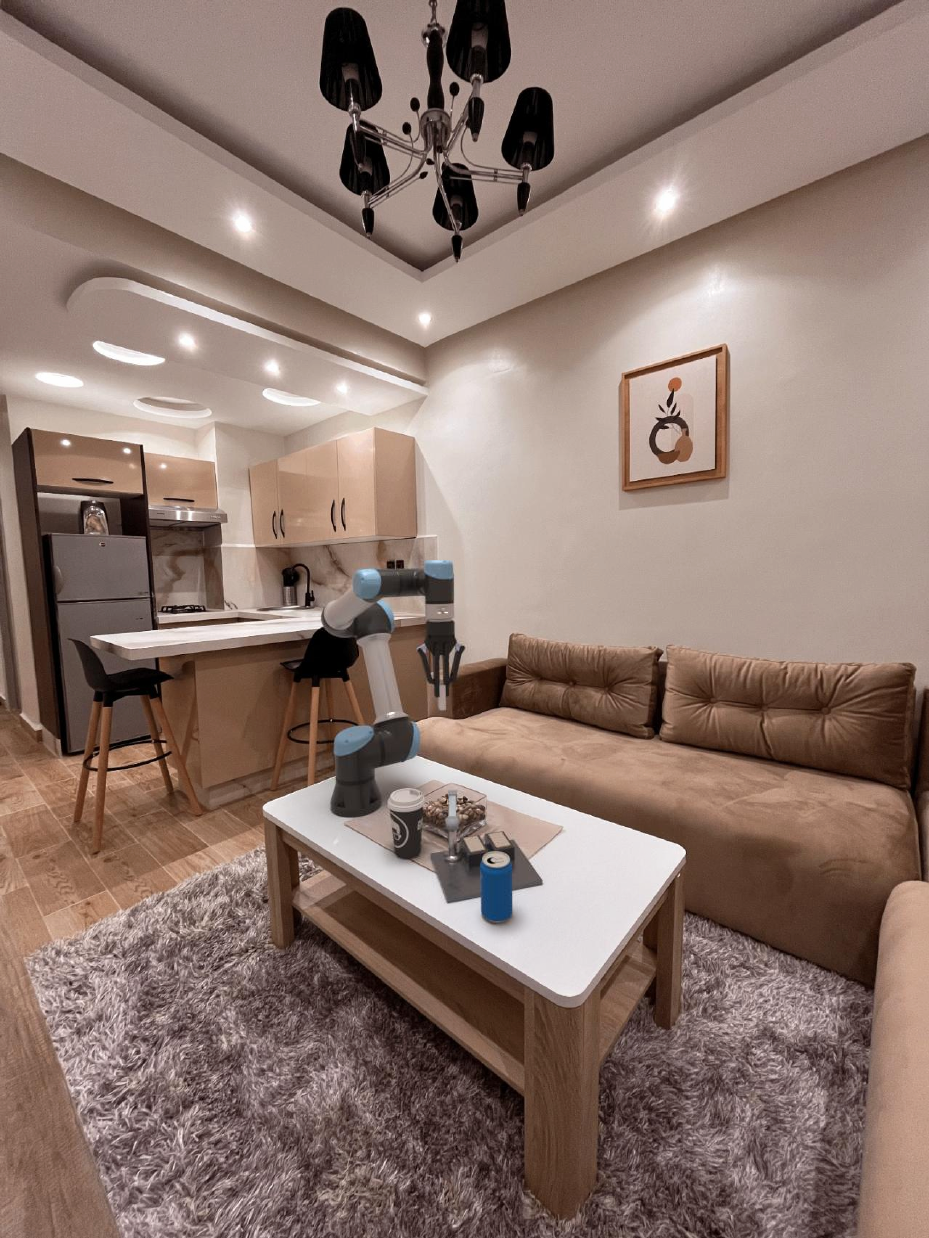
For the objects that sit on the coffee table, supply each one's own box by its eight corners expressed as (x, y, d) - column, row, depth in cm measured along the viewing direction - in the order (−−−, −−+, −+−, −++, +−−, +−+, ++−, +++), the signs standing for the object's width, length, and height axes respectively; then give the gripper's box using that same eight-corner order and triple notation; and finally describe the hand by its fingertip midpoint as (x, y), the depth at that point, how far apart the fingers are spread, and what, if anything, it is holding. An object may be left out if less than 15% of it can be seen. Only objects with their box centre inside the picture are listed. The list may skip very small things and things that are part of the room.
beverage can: (479, 905, 106) (478, 851, 105) (509, 902, 106) (509, 849, 105) (483, 926, 99) (482, 869, 98) (515, 924, 100) (514, 867, 99)
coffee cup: (420, 864, 121) (418, 805, 119) (383, 860, 122) (381, 802, 121) (431, 843, 130) (429, 788, 128) (396, 840, 132) (394, 785, 130)
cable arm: (445, 832, 120) (445, 822, 120) (447, 798, 137) (446, 790, 137) (458, 832, 120) (458, 822, 120) (458, 798, 138) (458, 790, 137)
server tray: (430, 857, 124) (429, 825, 123) (513, 843, 129) (513, 812, 129) (447, 903, 106) (446, 866, 106) (542, 884, 112) (542, 849, 111)
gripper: (417, 622, 124) (420, 715, 126) (468, 620, 128) (469, 710, 130) (412, 619, 131) (415, 707, 134) (460, 617, 135) (462, 703, 137)
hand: (442, 708), depth 132 cm, fingers closed
